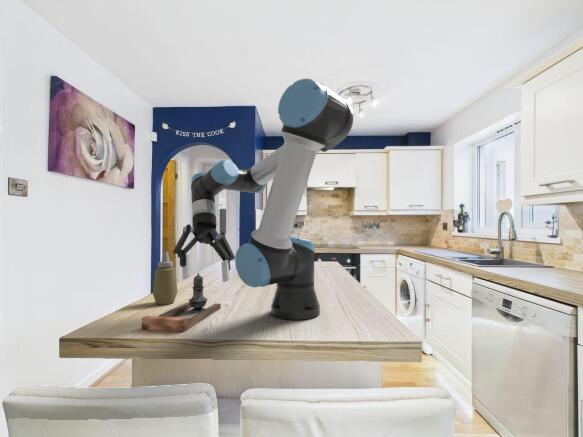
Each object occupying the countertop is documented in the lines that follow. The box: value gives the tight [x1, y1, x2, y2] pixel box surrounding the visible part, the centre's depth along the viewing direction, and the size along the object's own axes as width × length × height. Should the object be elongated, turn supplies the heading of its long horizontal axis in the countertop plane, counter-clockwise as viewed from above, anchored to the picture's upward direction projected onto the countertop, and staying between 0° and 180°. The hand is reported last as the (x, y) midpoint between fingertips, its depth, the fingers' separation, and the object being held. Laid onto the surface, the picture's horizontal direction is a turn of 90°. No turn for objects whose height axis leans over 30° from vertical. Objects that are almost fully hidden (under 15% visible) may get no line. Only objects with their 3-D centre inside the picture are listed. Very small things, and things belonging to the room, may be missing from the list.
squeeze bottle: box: [152, 251, 179, 306], centre depth 106 cm, size 8×8×18 cm
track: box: [141, 301, 222, 333], centre depth 89 cm, size 12×23×3 cm, turn 170°
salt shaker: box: [187, 272, 208, 314], centre depth 97 cm, size 6×6×12 cm
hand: (207, 279), depth 90 cm, fingers open, 13 cm apart
